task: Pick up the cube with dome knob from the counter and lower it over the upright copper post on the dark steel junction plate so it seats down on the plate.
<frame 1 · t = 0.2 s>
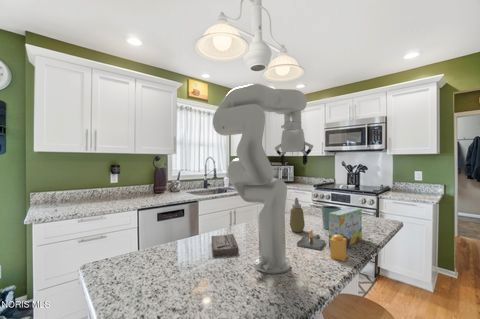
hand: (293, 164, 103), 36 cm above the countertop, tool pointing down, fingers open, 9 cm apart
snack box: (346, 243, 104), on the countertop
box: (224, 249, 101), on the countertop
cube with dome knob: (338, 257, 89), on the countertop
green cup: (331, 228, 128), on the countertop
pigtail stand: (311, 244, 103), on the countertop
squeeze bottle: (297, 231, 124), on the countertop
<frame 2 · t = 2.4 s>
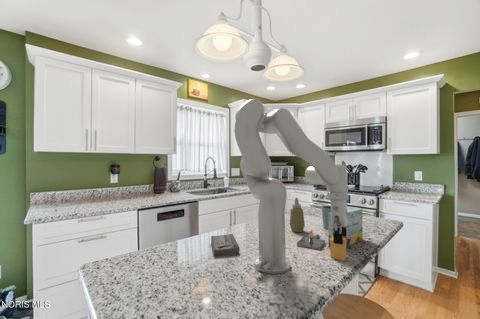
hand: (340, 239, 89), 7 cm above the countertop, tool pointing down, fingers open, 9 cm apart
nothing on the countertop moved.
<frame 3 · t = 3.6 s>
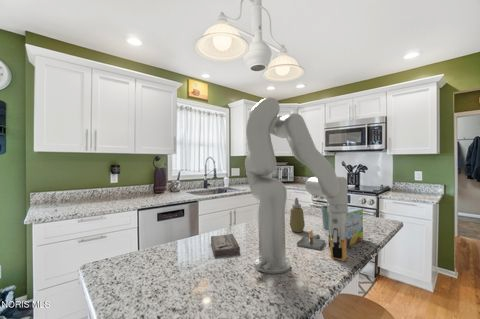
hand: (338, 254, 89), 1 cm above the countertop, tool pointing down, fingers closed on cube with dome knob, 4 cm apart
cube with dome knob: (338, 257, 89), on the countertop, touching gripper
everything else where it was.
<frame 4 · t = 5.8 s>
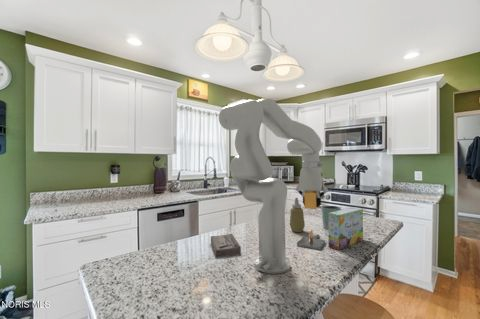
hand: (311, 205, 103), 18 cm above the countertop, tool pointing down, fingers closed on cube with dome knob, 4 cm apart
cube with dome knob: (312, 207, 103), point 17 cm above the countertop, touching gripper
everything else where it was.
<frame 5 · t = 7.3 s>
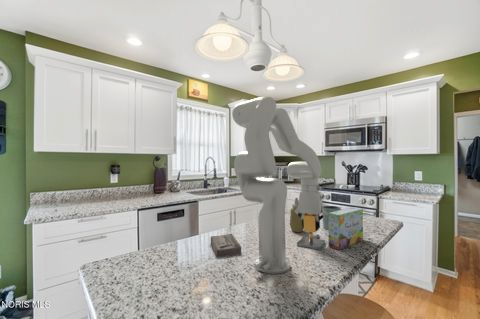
hand: (310, 228, 104), 7 cm above the countertop, tool pointing down, fingers closed on cube with dome knob, 4 cm apart
cube with dome knob: (311, 230, 104), point 6 cm above the countertop, touching gripper
everything else where it was.
when the fingers open (4 cm above the countertop, at t = 8.3 s): cube with dome knob drops 2 cm, resting on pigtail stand.
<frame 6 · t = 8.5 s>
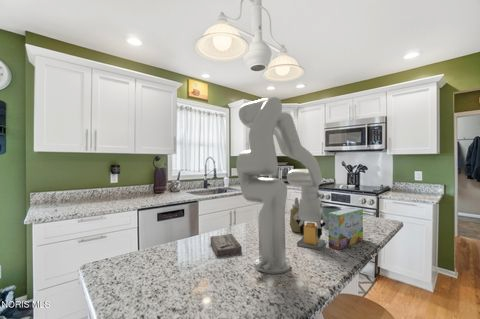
hand: (310, 235, 104), 4 cm above the countertop, tool pointing down, fingers open, 6 cm apart
cube with dome knob: (311, 241, 104), point 1 cm above the countertop, touching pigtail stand
everything else where it was.
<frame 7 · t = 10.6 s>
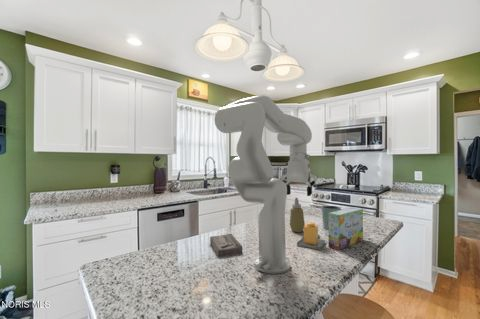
hand: (298, 195, 104), 22 cm above the countertop, tool pointing down, fingers open, 9 cm apart
nothing on the countertop moved.
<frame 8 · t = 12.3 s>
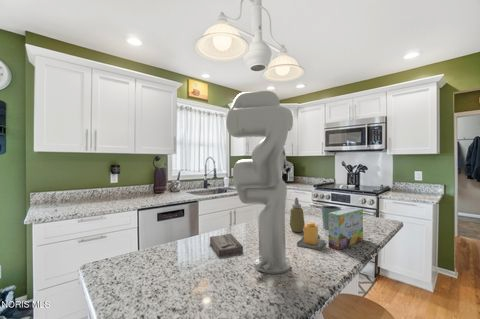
hand: (274, 182, 106), 28 cm above the countertop, tool pointing down, fingers open, 9 cm apart
at the end: cube with dome knob 0.1 cm off-centre on the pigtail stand, point 1.2 cm above the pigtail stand's base; cube with dome knob tilted 0°; the gripper is holding nothing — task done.
